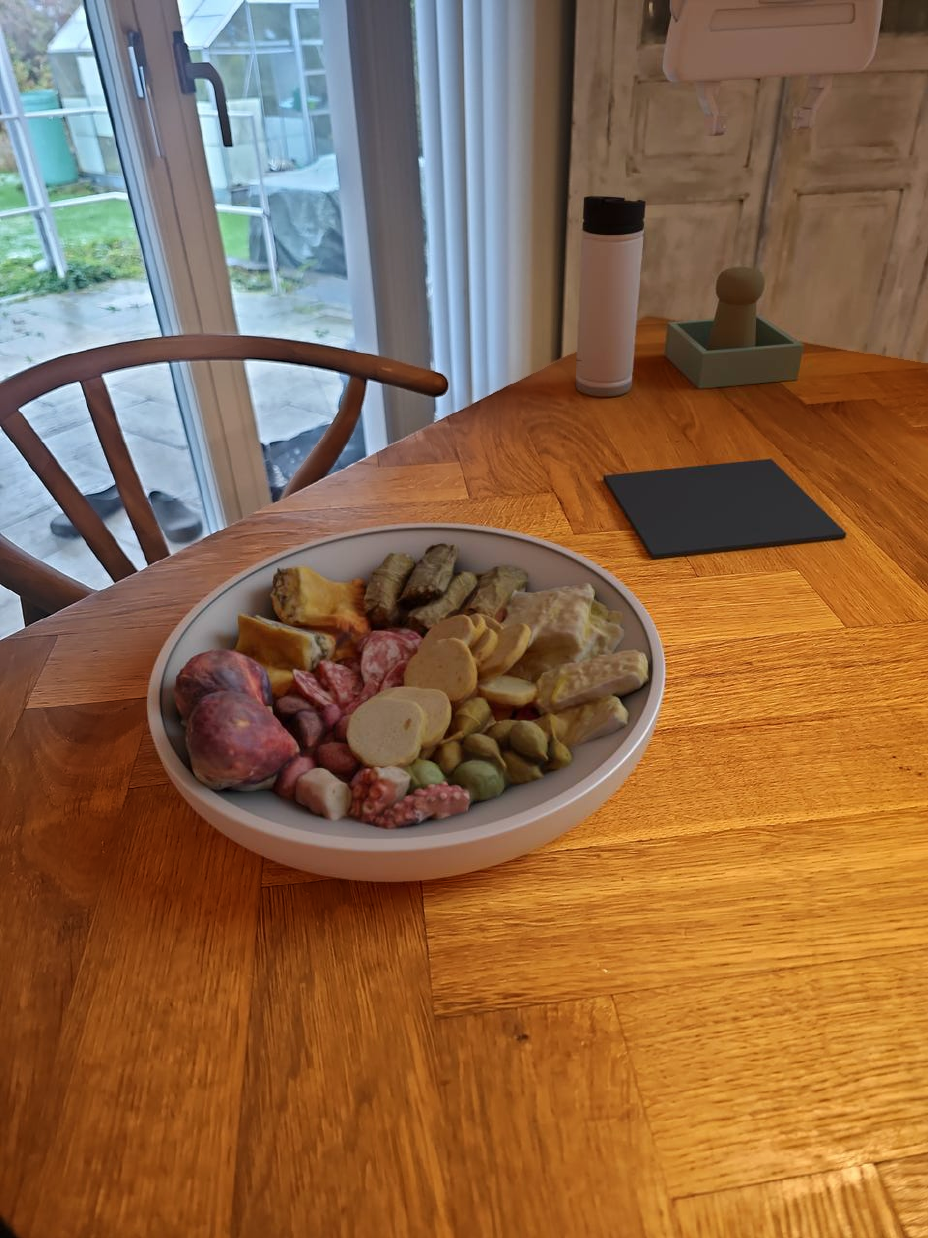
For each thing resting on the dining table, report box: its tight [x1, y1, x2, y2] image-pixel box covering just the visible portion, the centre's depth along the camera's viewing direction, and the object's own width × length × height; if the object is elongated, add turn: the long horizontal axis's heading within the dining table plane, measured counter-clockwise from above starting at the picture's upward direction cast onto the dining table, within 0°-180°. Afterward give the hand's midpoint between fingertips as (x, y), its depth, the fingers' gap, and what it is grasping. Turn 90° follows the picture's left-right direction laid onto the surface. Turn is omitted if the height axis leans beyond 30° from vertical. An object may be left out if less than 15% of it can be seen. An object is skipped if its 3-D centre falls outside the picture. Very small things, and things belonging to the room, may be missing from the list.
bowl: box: [146, 522, 666, 883], centre depth 51 cm, size 30×30×8 cm
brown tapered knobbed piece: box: [706, 266, 766, 351], centre depth 96 cm, size 6×6×11 cm
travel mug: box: [575, 195, 646, 398], centre depth 90 cm, size 6×7×20 cm
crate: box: [663, 314, 805, 390], centre depth 98 cm, size 12×12×4 cm
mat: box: [603, 458, 847, 560], centre depth 73 cm, size 16×14×1 cm
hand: (757, 131), depth 84 cm, fingers open, 8 cm apart
